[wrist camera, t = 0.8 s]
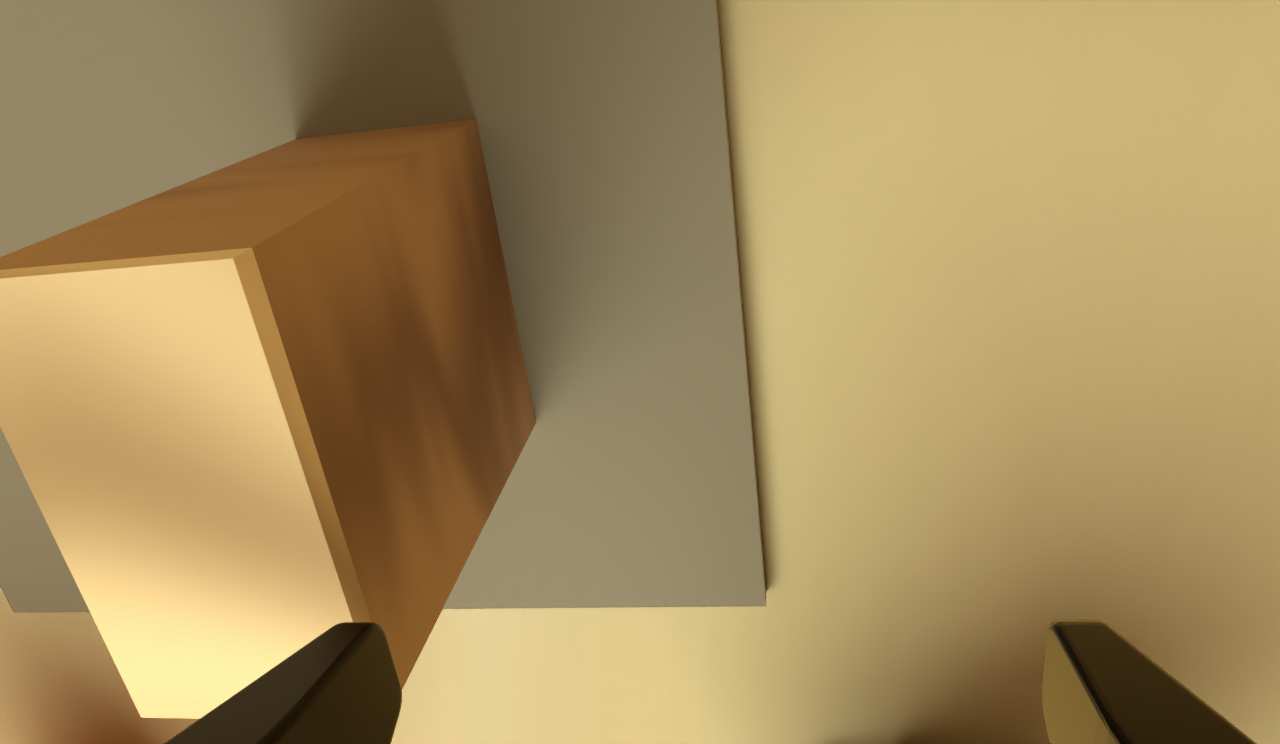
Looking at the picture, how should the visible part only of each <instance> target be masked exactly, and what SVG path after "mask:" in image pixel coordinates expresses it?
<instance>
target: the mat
mask: <svg viewBox="0 0 1280 744" xmlns="http://www.w3.org/2000/svg"><path fill="white" fill-rule="evenodd" d="M472 119H476V120H477V125H478V130H479V135H480V141H481V146H482V151H483V156H484V161H485V166H486V171H487V176H488V181H489V186H490V191H491V196H492V201H493V206H494V211H495V216H496V221H497V227H498V232H499V237H500V242H501V247H502V252H503V257H504V262H505V267H506V272H507V277H508V282H509V287H510V292H511V297H512V302H513V308H514V313H515V318H516V323H517V328H518V333H519V338H520V343H521V348H522V353H523V358H524V363H525V368H526V373H527V378H528V383H529V388H530V394H531V399H532V404H533V409H534V414H535V419H536V424H535V426H534V428H533V430H532V432H531V434H530V436H529V438H528V440H527V442H526V444H525V446H524V448H523V450H522V452H521V454H520V456H519V458H518V460H517V462H516V464H515V466H514V468H513V470H512V472H511V474H510V476H509V478H508V480H507V482H506V484H505V486H504V488H503V490H502V492H501V494H500V496H499V498H498V500H497V502H496V504H495V506H494V508H493V510H492V512H491V514H490V516H489V518H488V520H487V521H486V523H485V525H484V527H483V529H482V531H481V533H480V535H479V537H478V539H477V541H476V543H475V545H474V547H473V549H472V551H471V553H470V555H469V557H468V559H467V561H466V563H465V565H464V567H463V569H462V571H461V573H460V575H459V577H458V579H457V581H456V583H455V585H454V587H453V589H452V591H451V593H450V595H449V597H448V599H447V601H446V603H445V605H444V607H443V609H484V608H602V607H720V606H766V585H765V573H764V561H763V549H762V537H761V525H760V513H759V501H758V489H757V476H756V464H755V452H754V440H753V428H752V416H751V404H750V392H749V380H748V368H747V356H746V344H745V332H744V319H743V307H742V295H741V283H740V271H739V259H738V247H737V235H736V223H735V211H734V199H733V187H732V174H731V162H730V150H729V138H728V126H727V114H726V102H725V90H724V78H723V66H722V54H721V42H720V30H719V17H718V5H717V0H0V257H2V256H4V255H7V254H9V253H12V252H14V251H17V250H19V249H22V248H24V247H27V246H29V245H32V244H34V243H37V242H39V241H42V240H44V239H47V238H49V237H52V236H54V235H57V234H59V233H62V232H64V231H67V230H69V229H72V228H74V227H77V226H79V225H82V224H85V223H87V222H90V221H92V220H95V219H97V218H100V217H102V216H105V215H107V214H110V213H112V212H115V211H117V210H120V209H122V208H125V207H127V206H130V205H132V204H135V203H137V202H140V201H142V200H145V199H147V198H150V197H152V196H155V195H157V194H160V193H162V192H165V191H167V190H170V189H172V188H175V187H177V186H180V185H182V184H185V183H187V182H190V181H192V180H195V179H197V178H200V177H202V176H205V175H207V174H210V173H212V172H215V171H217V170H220V169H222V168H225V167H227V166H230V165H232V164H235V163H237V162H240V161H242V160H245V159H247V158H250V157H252V156H255V155H257V154H260V153H262V152H265V151H267V150H270V149H272V148H275V147H277V146H280V145H282V144H285V143H287V142H290V141H292V140H295V139H301V138H310V137H319V136H328V135H337V134H346V133H355V132H364V131H373V130H382V129H391V128H400V127H409V126H418V125H427V124H436V123H445V122H454V121H463V120H472ZM0 587H1V589H2V591H3V593H4V595H5V597H6V598H7V600H8V602H9V604H10V606H11V608H12V610H13V612H90V611H89V609H88V607H87V605H86V603H85V601H84V599H83V596H82V594H81V592H80V590H79V588H78V586H77V584H76V582H75V580H74V578H73V576H72V574H71V572H70V570H69V567H68V565H67V563H66V561H65V559H64V557H63V555H62V553H61V551H60V549H59V547H58V545H57V543H56V541H55V539H54V536H53V534H52V532H51V530H50V528H49V526H48V524H47V522H46V520H45V518H44V516H43V514H42V512H41V510H40V508H39V505H38V503H37V501H36V499H35V497H34V495H33V493H32V491H31V489H30V487H29V485H28V483H27V481H26V479H25V477H24V474H23V472H22V470H21V468H20V466H19V464H18V462H17V460H16V458H15V456H14V454H13V452H12V450H11V448H10V446H9V443H8V441H7V439H6V437H5V435H4V433H3V431H2V429H1V427H0Z"/></svg>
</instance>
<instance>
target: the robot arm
mask: <svg viewBox="0 0 1280 744" xmlns="http://www.w3.org/2000/svg"><path fill="white" fill-rule="evenodd" d="M401 702H402V690H401V683H400V680H399V676H398V673H397V670H396V667H395V663H394V660H393V657H392V654H391V650H390V647H389V644H388V641H387V637H386V635H385V632H384V630H383V629H382V627H381V626H380V625H378V624H376V623H373V622H344V623H339V624H336V625H334V626H333V627H331V628H330V629H328V630H327V631H325V632H324V633H322V634H321V635H320V636H318V637H317V638H315V639H314V640H312V641H311V642H310V643H308V644H307V645H305V646H304V647H302V648H301V649H299V650H298V651H297V652H295V653H294V654H292V655H291V656H289V657H288V658H287V659H285V660H284V661H282V662H281V663H279V664H278V665H276V666H275V667H274V668H272V669H271V670H269V671H268V672H266V673H265V674H264V675H262V676H261V677H259V678H258V679H256V680H255V681H253V682H252V683H251V684H249V685H248V686H246V687H245V688H243V689H242V690H241V691H239V692H238V693H236V694H235V695H233V696H232V697H230V698H229V699H228V700H226V701H225V702H223V703H222V704H220V705H219V706H218V707H216V708H215V709H213V710H212V711H210V712H209V713H207V714H206V715H205V716H203V717H202V718H200V719H199V720H197V721H196V722H195V723H193V724H192V725H190V726H189V727H187V728H186V729H184V730H183V731H182V732H180V733H179V734H177V735H176V736H174V737H173V738H172V739H170V740H169V741H167V742H166V743H164V744H391V741H392V738H393V734H394V731H395V727H396V724H397V720H398V717H399V713H400V709H401ZM1042 708H1043V715H1044V720H1045V725H1046V729H1047V733H1048V737H1049V742H1050V744H1257V743H1255V742H1254V741H1253V740H1252V739H1250V738H1249V737H1248V736H1247V735H1245V734H1244V733H1243V732H1241V731H1240V730H1239V729H1238V728H1236V727H1235V726H1234V725H1233V724H1231V723H1230V722H1229V721H1228V720H1226V719H1225V718H1224V717H1223V716H1221V715H1220V714H1219V713H1218V712H1216V711H1215V710H1214V709H1213V708H1211V707H1210V706H1209V705H1208V704H1206V703H1205V702H1204V701H1203V700H1201V699H1200V698H1199V697H1198V696H1196V695H1195V694H1194V693H1192V692H1191V691H1190V690H1189V689H1187V688H1186V687H1185V686H1184V685H1182V684H1181V683H1180V682H1179V681H1177V680H1176V679H1175V678H1174V677H1172V676H1171V675H1170V674H1169V673H1167V672H1166V671H1165V670H1164V669H1162V668H1161V667H1160V666H1159V665H1157V664H1156V663H1155V662H1154V661H1152V660H1151V659H1150V658H1148V657H1147V656H1146V655H1145V654H1143V653H1142V652H1141V651H1140V650H1138V649H1137V648H1136V647H1135V646H1133V645H1132V644H1131V643H1130V642H1128V641H1127V640H1126V639H1125V638H1123V637H1122V636H1121V635H1120V634H1118V633H1117V632H1116V631H1115V630H1113V629H1112V628H1111V627H1110V626H1108V625H1107V624H1105V623H1103V622H1101V621H1097V620H1056V621H1054V622H1053V623H1051V624H1050V626H1049V628H1048V630H1047V635H1046V646H1045V658H1044V670H1043V682H1042Z"/></svg>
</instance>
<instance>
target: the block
mask: <svg viewBox="0 0 1280 744" xmlns="http://www.w3.org/2000/svg"><path fill="white" fill-rule="evenodd" d="M535 424H536V419H535V414H534V409H533V404H532V399H531V394H530V388H529V383H528V378H527V373H526V368H525V363H524V358H523V353H522V348H521V343H520V338H519V333H518V328H517V323H516V318H515V313H514V308H513V302H512V297H511V292H510V287H509V282H508V277H507V272H506V267H505V262H504V257H503V252H502V247H501V242H500V237H499V232H498V227H497V221H496V216H495V211H494V206H493V201H492V196H491V191H490V186H489V181H488V176H487V171H486V166H485V161H484V156H483V151H482V146H481V141H480V135H479V130H478V125H477V120H476V119H472V120H463V121H454V122H445V123H436V124H427V125H418V126H409V127H400V128H391V129H382V130H373V131H364V132H355V133H346V134H337V135H328V136H319V137H310V138H301V139H295V140H292V141H290V142H287V143H285V144H282V145H280V146H277V147H275V148H272V149H270V150H267V151H265V152H262V153H260V154H257V155H255V156H252V157H250V158H247V159H245V160H242V161H240V162H237V163H235V164H232V165H230V166H227V167H225V168H222V169H220V170H217V171H215V172H212V173H210V174H207V175H205V176H202V177H200V178H197V179H195V180H192V181H190V182H187V183H185V184H182V185H180V186H177V187H175V188H172V189H170V190H167V191H165V192H162V193H160V194H157V195H155V196H152V197H150V198H147V199H145V200H142V201H140V202H137V203H135V204H132V205H130V206H127V207H125V208H122V209H120V210H117V211H115V212H112V213H110V214H107V215H105V216H102V217H100V218H97V219H95V220H92V221H90V222H87V223H85V224H82V225H79V226H77V227H74V228H72V229H69V230H67V231H64V232H62V233H59V234H57V235H54V236H52V237H49V238H47V239H44V240H42V241H39V242H37V243H34V244H32V245H29V246H27V247H24V248H22V249H19V250H17V251H14V252H12V253H9V254H7V255H4V256H2V257H0V427H1V429H2V431H3V433H4V435H5V437H6V439H7V441H8V443H9V446H10V448H11V450H12V452H13V454H14V456H15V458H16V460H17V462H18V464H19V466H20V468H21V470H22V472H23V474H24V477H25V479H26V481H27V483H28V485H29V487H30V489H31V491H32V493H33V495H34V497H35V499H36V501H37V503H38V505H39V508H40V510H41V512H42V514H43V516H44V518H45V520H46V522H47V524H48V526H49V528H50V530H51V532H52V534H53V536H54V539H55V541H56V543H57V545H58V547H59V549H60V551H61V553H62V555H63V557H64V559H65V561H66V563H67V565H68V567H69V570H70V572H71V574H72V576H73V578H74V580H75V582H76V584H77V586H78V588H79V590H80V592H81V594H82V596H83V599H84V601H85V603H86V605H87V607H88V609H89V611H90V613H91V615H92V617H93V619H94V621H95V623H96V625H97V627H98V630H99V632H100V634H101V636H102V638H103V640H104V642H105V644H106V646H107V648H108V650H109V652H110V654H111V656H112V658H113V661H114V663H115V665H116V667H117V669H118V671H119V673H120V675H121V677H122V679H123V681H124V683H125V685H126V687H127V689H128V692H129V694H130V696H131V698H132V700H133V702H134V704H135V706H136V708H137V710H138V712H139V714H140V716H141V718H191V719H200V718H202V717H203V716H205V715H206V714H207V713H209V712H210V711H212V710H213V709H215V708H216V707H218V706H219V705H220V704H222V703H223V702H225V701H226V700H228V699H229V698H230V697H232V696H233V695H235V694H236V693H238V692H239V691H241V690H242V689H243V688H245V687H246V686H248V685H249V684H251V683H252V682H253V681H255V680H256V679H258V678H259V677H261V676H262V675H264V674H265V673H266V672H268V671H269V670H271V669H272V668H274V667H275V666H276V665H278V664H279V663H281V662H282V661H284V660H285V659H287V658H288V657H289V656H291V655H292V654H294V653H295V652H297V651H298V650H299V649H301V648H302V647H304V646H305V645H307V644H308V643H310V642H311V641H312V640H314V639H315V638H317V637H318V636H320V635H321V634H322V633H324V632H325V631H327V630H328V629H330V628H331V627H333V626H334V625H336V624H339V623H344V622H373V623H376V624H378V625H380V626H381V627H382V629H383V630H384V632H385V635H386V637H387V641H388V644H389V647H390V650H391V654H392V657H393V660H394V663H395V667H396V670H397V673H398V676H399V680H400V683H401V690H402V688H403V686H404V684H405V683H406V681H407V679H408V677H409V675H410V673H411V671H412V669H413V667H414V665H415V663H416V661H417V659H418V657H419V655H420V653H421V651H422V649H423V647H424V645H425V643H426V641H427V639H428V637H429V635H430V633H431V631H432V629H433V627H434V625H435V623H436V621H437V619H438V617H439V615H440V613H441V611H442V609H443V607H444V605H445V603H446V601H447V599H448V597H449V595H450V593H451V591H452V589H453V587H454V585H455V583H456V581H457V579H458V577H459V575H460V573H461V571H462V569H463V567H464V565H465V563H466V561H467V559H468V557H469V555H470V553H471V551H472V549H473V547H474V545H475V543H476V541H477V539H478V537H479V535H480V533H481V531H482V529H483V527H484V525H485V523H486V521H487V520H488V518H489V516H490V514H491V512H492V510H493V508H494V506H495V504H496V502H497V500H498V498H499V496H500V494H501V492H502V490H503V488H504V486H505V484H506V482H507V480H508V478H509V476H510V474H511V472H512V470H513V468H514V466H515V464H516V462H517V460H518V458H519V456H520V454H521V452H522V450H523V448H524V446H525V444H526V442H527V440H528V438H529V436H530V434H531V432H532V430H533V428H534V426H535Z"/></svg>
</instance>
